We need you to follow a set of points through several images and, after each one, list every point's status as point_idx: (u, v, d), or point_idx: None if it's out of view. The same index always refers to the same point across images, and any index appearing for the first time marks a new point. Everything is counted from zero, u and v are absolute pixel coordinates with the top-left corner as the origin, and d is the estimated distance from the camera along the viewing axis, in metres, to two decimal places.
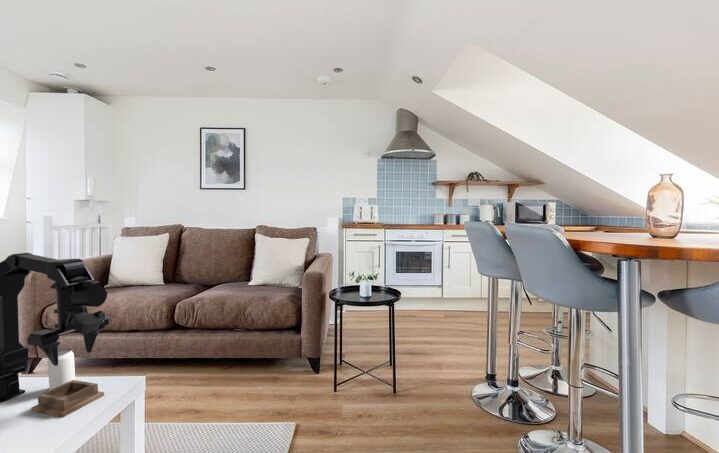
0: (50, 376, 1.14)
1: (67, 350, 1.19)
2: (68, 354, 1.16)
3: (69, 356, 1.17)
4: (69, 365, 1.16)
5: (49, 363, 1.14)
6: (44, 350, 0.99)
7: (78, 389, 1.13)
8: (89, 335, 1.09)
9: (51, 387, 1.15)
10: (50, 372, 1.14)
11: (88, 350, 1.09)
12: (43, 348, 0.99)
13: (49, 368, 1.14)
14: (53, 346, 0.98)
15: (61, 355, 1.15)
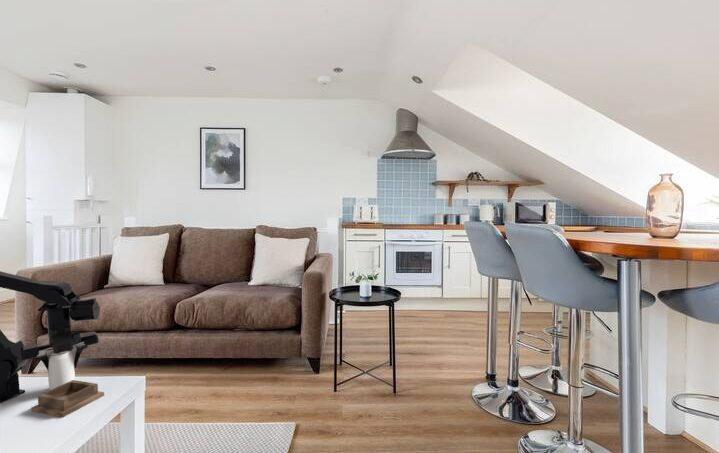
0: (49, 376, 1.14)
1: None
2: (67, 354, 1.16)
3: (69, 356, 1.16)
4: (68, 365, 1.16)
5: None
6: None
7: (78, 389, 1.13)
8: (75, 352, 1.20)
9: (51, 387, 1.14)
10: (49, 372, 1.14)
11: None
12: None
13: None
14: (41, 358, 1.12)
15: (60, 355, 1.15)
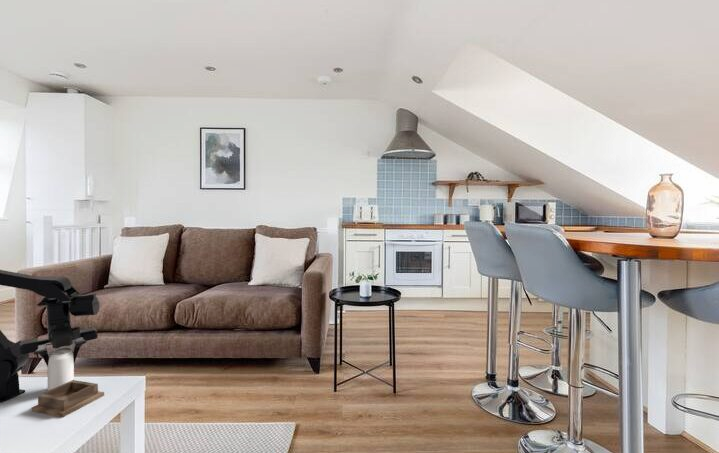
0: (49, 375, 1.14)
1: (67, 350, 1.19)
2: (67, 354, 1.16)
3: (69, 356, 1.16)
4: (68, 366, 1.16)
5: (48, 362, 1.14)
6: None
7: (78, 389, 1.13)
8: (73, 348, 1.19)
9: (49, 387, 1.14)
10: (49, 371, 1.14)
11: None
12: None
13: (48, 367, 1.14)
14: (41, 353, 1.12)
15: (61, 355, 1.15)
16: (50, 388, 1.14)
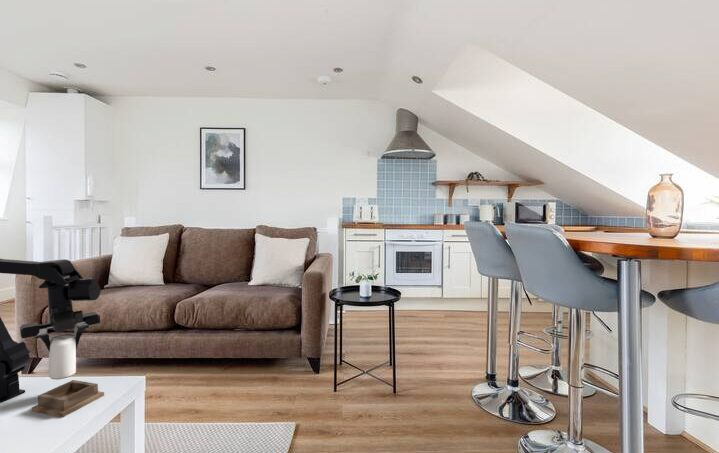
0: (50, 362, 1.11)
1: (69, 336, 1.15)
2: (69, 339, 1.13)
3: (71, 342, 1.13)
4: (70, 351, 1.13)
5: (50, 348, 1.11)
6: None
7: (78, 389, 1.13)
8: (76, 332, 1.16)
9: (51, 373, 1.11)
10: (51, 357, 1.11)
11: None
12: None
13: (50, 353, 1.11)
14: (42, 337, 1.08)
15: (63, 340, 1.12)
16: (52, 374, 1.11)
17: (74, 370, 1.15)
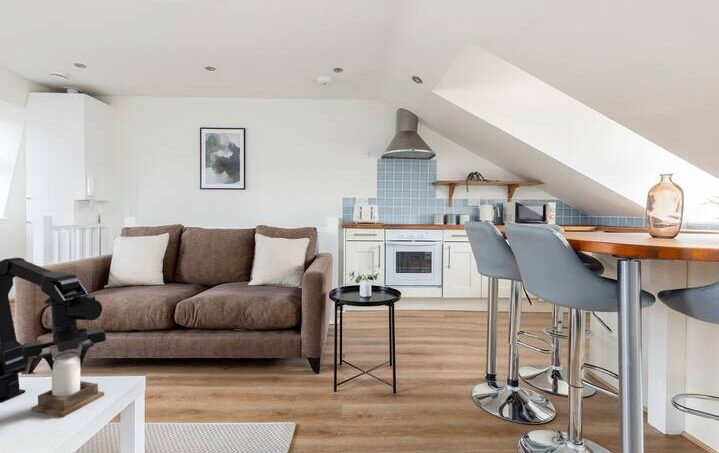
0: (53, 382, 1.05)
1: (73, 354, 1.09)
2: (74, 359, 1.07)
3: (75, 361, 1.07)
4: (74, 371, 1.07)
5: (53, 368, 1.05)
6: None
7: None
8: (80, 351, 1.10)
9: (54, 394, 1.05)
10: (54, 377, 1.05)
11: None
12: None
13: (53, 373, 1.05)
14: (45, 357, 1.03)
15: (67, 360, 1.06)
16: (55, 395, 1.05)
17: (78, 390, 1.09)
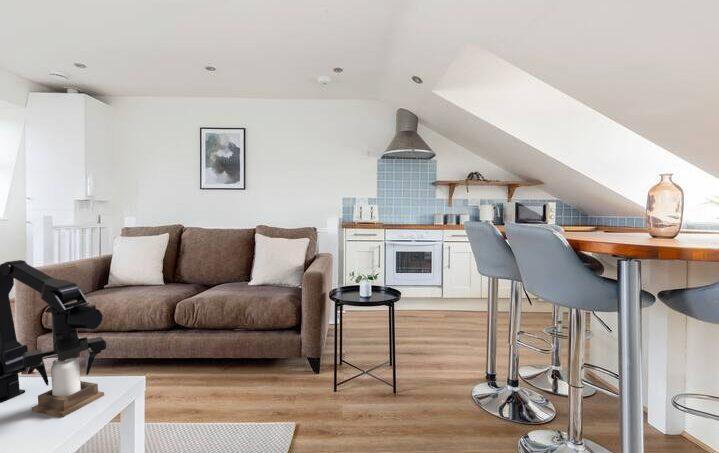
0: (53, 387, 1.05)
1: (72, 358, 1.10)
2: (72, 362, 1.07)
3: (74, 365, 1.08)
4: (73, 375, 1.07)
5: (52, 372, 1.05)
6: None
7: None
8: (88, 358, 1.12)
9: None
10: (53, 382, 1.05)
11: (86, 372, 1.11)
12: None
13: (52, 378, 1.05)
14: (38, 368, 1.02)
15: (65, 364, 1.06)
16: None
17: None
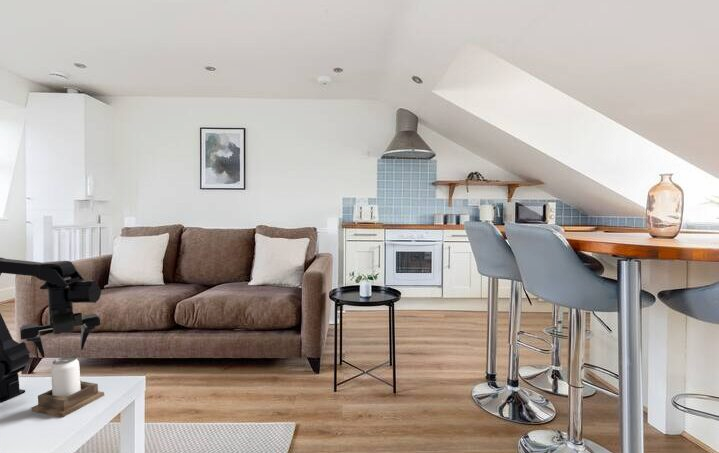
0: (53, 387, 1.05)
1: (72, 358, 1.10)
2: (72, 362, 1.07)
3: (74, 365, 1.08)
4: (73, 375, 1.07)
5: (52, 372, 1.05)
6: None
7: None
8: (82, 333, 1.17)
9: None
10: (53, 382, 1.05)
11: (81, 347, 1.16)
12: None
13: (52, 378, 1.05)
14: (34, 340, 1.07)
15: (65, 364, 1.06)
16: None
17: None
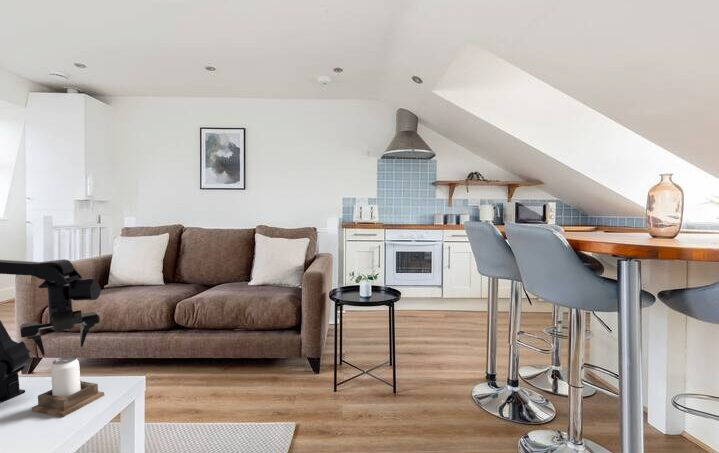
0: (53, 387, 1.05)
1: (72, 358, 1.10)
2: (72, 362, 1.07)
3: (74, 365, 1.08)
4: (73, 375, 1.07)
5: (52, 372, 1.05)
6: None
7: None
8: (82, 331, 1.18)
9: None
10: (53, 382, 1.05)
11: (80, 345, 1.18)
12: None
13: (52, 378, 1.05)
14: (34, 338, 1.08)
15: (65, 364, 1.06)
16: None
17: None
